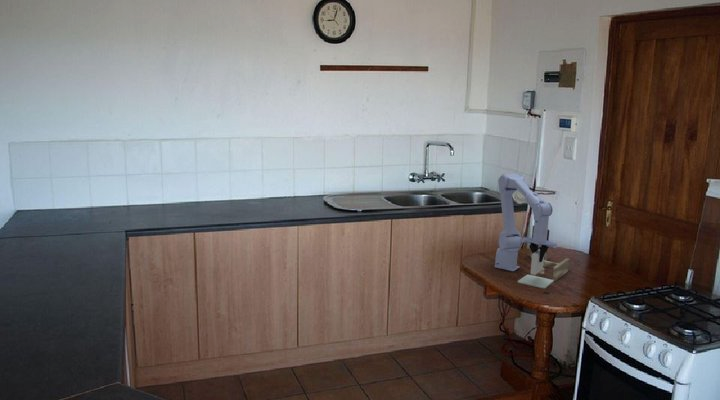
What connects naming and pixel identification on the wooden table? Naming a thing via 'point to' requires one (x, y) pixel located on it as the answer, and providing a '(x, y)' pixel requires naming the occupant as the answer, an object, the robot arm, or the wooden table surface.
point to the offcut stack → (541, 271)
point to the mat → (535, 281)
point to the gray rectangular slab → (536, 263)
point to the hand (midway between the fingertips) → (537, 261)
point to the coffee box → (540, 245)
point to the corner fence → (558, 268)
